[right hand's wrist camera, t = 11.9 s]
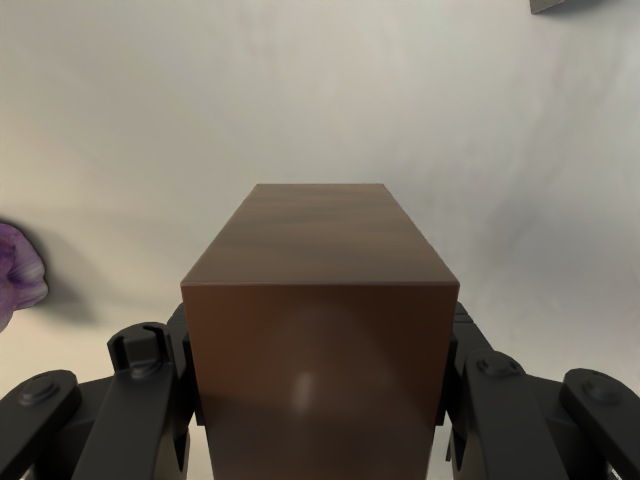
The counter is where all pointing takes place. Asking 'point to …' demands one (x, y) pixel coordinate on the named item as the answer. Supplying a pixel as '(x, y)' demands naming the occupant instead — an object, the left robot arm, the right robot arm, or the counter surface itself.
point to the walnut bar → (320, 336)
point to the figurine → (18, 274)
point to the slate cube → (543, 4)
